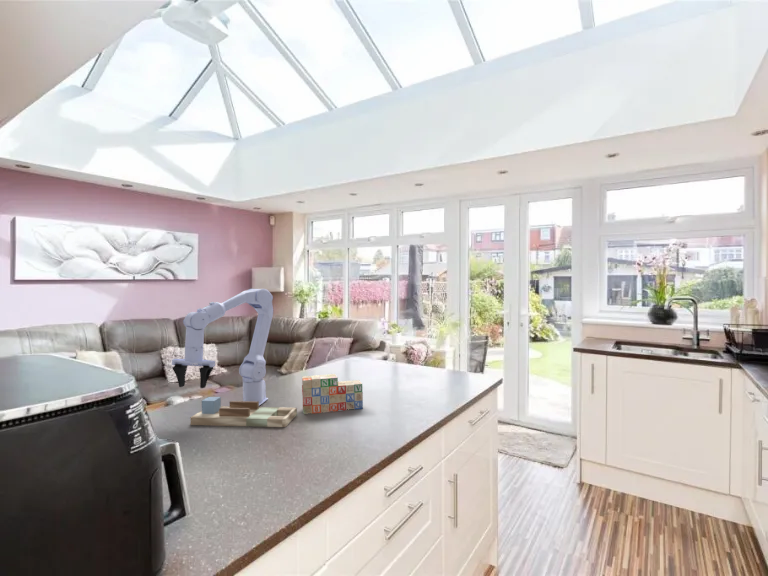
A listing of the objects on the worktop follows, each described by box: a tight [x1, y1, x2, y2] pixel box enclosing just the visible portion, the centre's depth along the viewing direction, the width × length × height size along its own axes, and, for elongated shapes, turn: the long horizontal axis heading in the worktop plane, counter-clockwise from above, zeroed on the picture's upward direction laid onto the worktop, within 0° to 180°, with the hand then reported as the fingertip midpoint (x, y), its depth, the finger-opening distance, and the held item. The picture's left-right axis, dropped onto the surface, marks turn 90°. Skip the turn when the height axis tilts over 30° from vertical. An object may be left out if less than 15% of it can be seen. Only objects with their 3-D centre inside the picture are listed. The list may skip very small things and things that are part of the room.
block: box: [201, 396, 222, 414], centre depth 140 cm, size 4×4×4 cm
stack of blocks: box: [301, 373, 364, 415], centre depth 150 cm, size 21×6×12 cm, turn 104°
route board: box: [189, 400, 298, 428], centre depth 139 cm, size 12×32×5 cm, turn 85°
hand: (192, 387), depth 140 cm, fingers open, 7 cm apart
